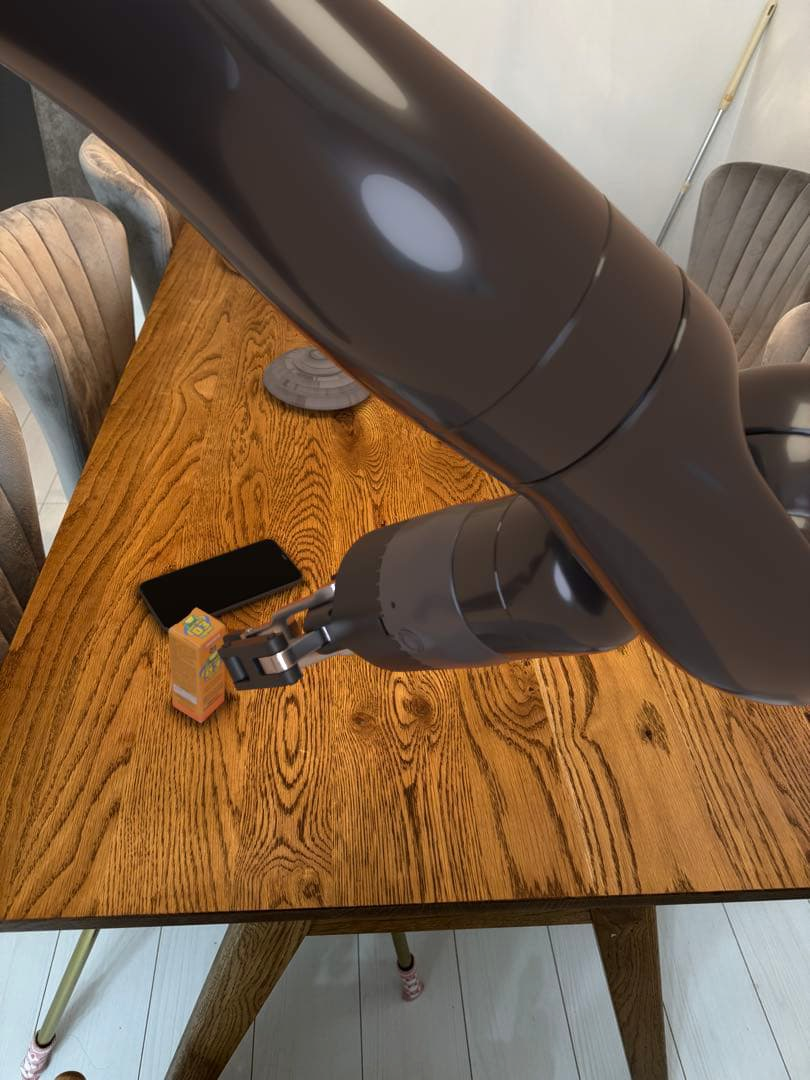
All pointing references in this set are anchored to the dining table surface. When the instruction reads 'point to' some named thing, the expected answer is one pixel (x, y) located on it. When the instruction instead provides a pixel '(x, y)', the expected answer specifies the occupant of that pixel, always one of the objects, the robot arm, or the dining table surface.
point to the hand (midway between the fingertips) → (288, 618)
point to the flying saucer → (311, 381)
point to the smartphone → (220, 583)
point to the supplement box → (197, 664)
